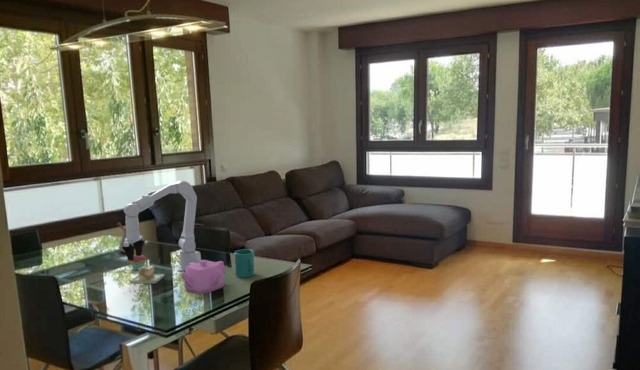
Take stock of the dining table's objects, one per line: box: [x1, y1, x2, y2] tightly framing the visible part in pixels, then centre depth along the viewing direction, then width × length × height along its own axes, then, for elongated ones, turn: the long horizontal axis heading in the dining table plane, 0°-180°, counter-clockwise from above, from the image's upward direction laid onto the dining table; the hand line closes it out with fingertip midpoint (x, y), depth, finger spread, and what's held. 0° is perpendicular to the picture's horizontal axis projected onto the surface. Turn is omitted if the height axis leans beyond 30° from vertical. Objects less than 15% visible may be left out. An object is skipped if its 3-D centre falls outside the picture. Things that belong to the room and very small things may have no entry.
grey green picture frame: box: [129, 273, 166, 284], centre depth 218 cm, size 12×10×1 cm
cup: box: [233, 248, 256, 279], centre depth 220 cm, size 9×12×11 cm
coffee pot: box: [117, 221, 134, 254], centre depth 273 cm, size 21×12×15 cm, turn 42°
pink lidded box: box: [180, 259, 226, 296], centre depth 204 cm, size 17×17×12 cm
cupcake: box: [128, 249, 148, 271], centre depth 235 cm, size 9×8×12 cm
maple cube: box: [137, 265, 155, 280], centre depth 218 cm, size 5×5×5 cm
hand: (134, 258), depth 220 cm, fingers open, 7 cm apart
